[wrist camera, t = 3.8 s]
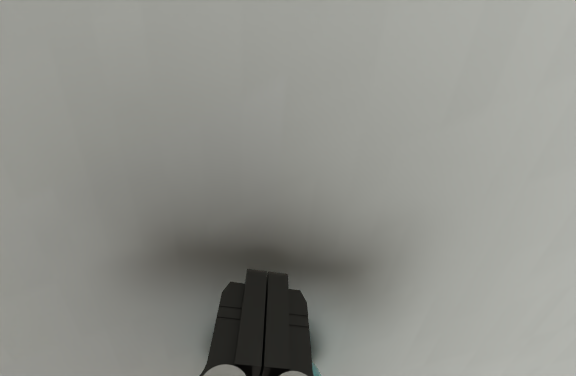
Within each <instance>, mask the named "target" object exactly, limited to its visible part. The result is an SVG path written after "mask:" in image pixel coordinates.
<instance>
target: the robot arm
mask: <svg viewBox="0 0 576 376" xmlns="http://www.w3.org/2000/svg"><path fill="white" fill-rule="evenodd" d="M200 376H314V375H313V369H312V357H311V346H310V334H309V323H308V311H307V302H306V300H305V298H304V297H303V295H302V293H301V291H300V290H292V289H288V274H283V273H276V272H268V273H267V271H259V270H252V269H247V273H246V279H245V284H243V283H235V282H230V283H229V284H228V286H227V287H226V288H225V290H224V291H223V292H222V296H221V300H220V305H219V310H218V314H217V319H216V324H215V328H214V333H213V338H212V342H211V347H210V352H209V356H208V361H207V364H206V366H205V369H204V370H203V372H202V373H201V374H200Z"/></svg>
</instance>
